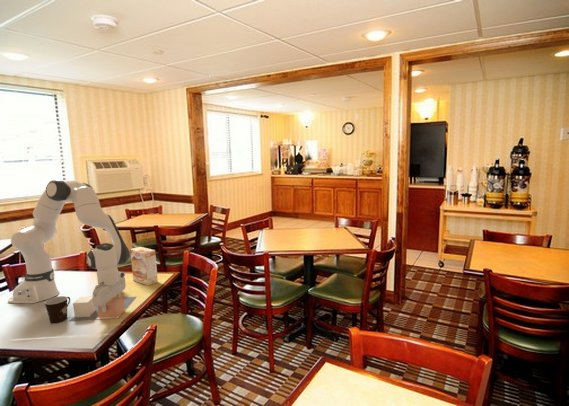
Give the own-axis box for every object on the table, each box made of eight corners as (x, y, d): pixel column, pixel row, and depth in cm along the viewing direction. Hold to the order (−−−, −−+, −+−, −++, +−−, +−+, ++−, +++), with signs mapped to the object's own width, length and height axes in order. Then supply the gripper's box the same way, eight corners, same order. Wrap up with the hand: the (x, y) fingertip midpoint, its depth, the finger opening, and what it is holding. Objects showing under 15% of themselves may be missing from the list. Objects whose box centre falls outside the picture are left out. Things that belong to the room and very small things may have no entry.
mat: (68, 322, 156) (68, 321, 156) (93, 299, 179) (93, 298, 179) (118, 319, 157) (118, 318, 157) (137, 297, 181) (137, 296, 181)
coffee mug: (53, 327, 151) (50, 306, 150) (44, 322, 156) (41, 301, 154) (80, 316, 161) (77, 296, 160) (70, 312, 166) (68, 292, 164)
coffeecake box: (132, 280, 205) (129, 249, 202) (143, 276, 211) (140, 246, 208) (147, 285, 196) (144, 253, 193) (158, 281, 202) (155, 249, 199)
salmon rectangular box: (116, 317, 158) (115, 303, 157) (98, 317, 159) (97, 302, 158) (125, 310, 165) (123, 297, 164) (107, 310, 166) (105, 296, 164)
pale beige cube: (74, 317, 159) (72, 303, 158) (81, 310, 166) (80, 297, 165) (89, 316, 160) (87, 302, 159) (96, 310, 166) (94, 296, 165)
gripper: (100, 287, 149) (103, 317, 151) (126, 271, 169) (129, 297, 171) (86, 287, 149) (90, 317, 151) (114, 270, 169) (117, 297, 171)
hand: (111, 306), depth 161 cm, fingers open, 8 cm apart
